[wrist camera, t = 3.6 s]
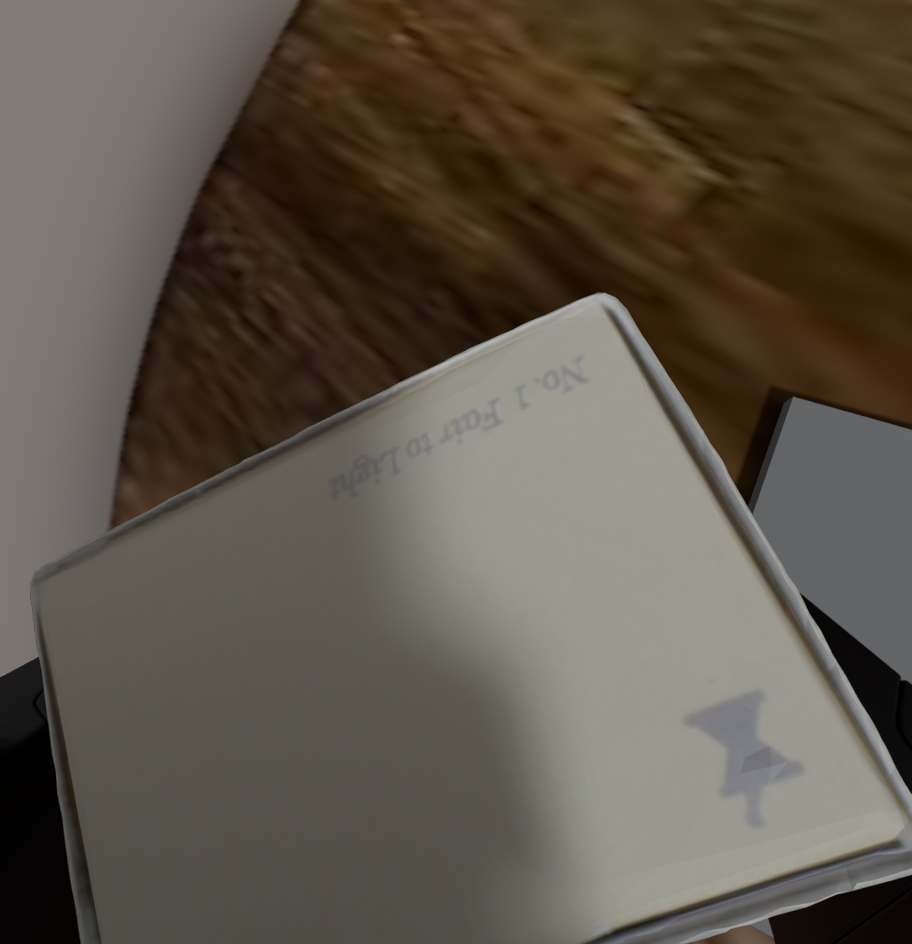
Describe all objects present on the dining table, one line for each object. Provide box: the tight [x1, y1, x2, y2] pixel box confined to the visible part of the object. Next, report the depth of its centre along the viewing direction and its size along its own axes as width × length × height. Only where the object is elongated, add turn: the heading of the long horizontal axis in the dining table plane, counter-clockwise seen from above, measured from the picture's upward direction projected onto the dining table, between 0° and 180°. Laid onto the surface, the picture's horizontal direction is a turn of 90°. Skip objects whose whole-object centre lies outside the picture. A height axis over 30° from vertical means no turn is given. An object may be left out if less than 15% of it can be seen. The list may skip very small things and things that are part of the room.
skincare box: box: [30, 293, 912, 944], centre depth 9 cm, size 6×4×12 cm
